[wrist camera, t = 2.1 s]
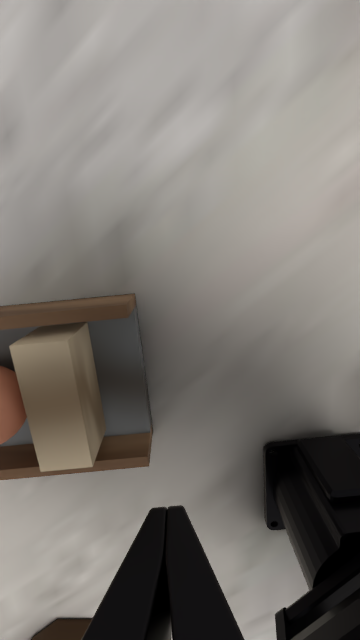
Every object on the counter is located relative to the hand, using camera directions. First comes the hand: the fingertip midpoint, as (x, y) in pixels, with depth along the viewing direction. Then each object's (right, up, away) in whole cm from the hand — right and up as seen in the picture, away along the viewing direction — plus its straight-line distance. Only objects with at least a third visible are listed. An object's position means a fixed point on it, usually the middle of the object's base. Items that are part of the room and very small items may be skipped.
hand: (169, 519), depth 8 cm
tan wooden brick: (-5, +2, +9) cm, 10 cm away
